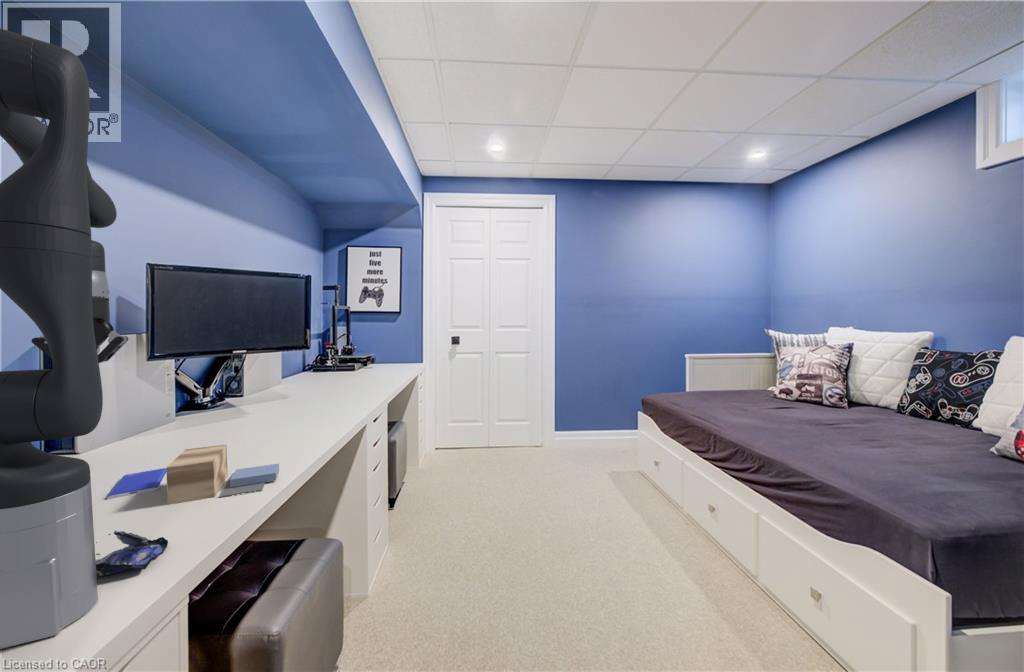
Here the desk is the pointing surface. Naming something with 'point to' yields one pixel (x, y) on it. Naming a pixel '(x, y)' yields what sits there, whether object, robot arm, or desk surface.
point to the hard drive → (138, 483)
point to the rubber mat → (240, 489)
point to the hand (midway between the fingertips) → (85, 385)
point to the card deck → (254, 475)
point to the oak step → (197, 474)
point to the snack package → (131, 554)
